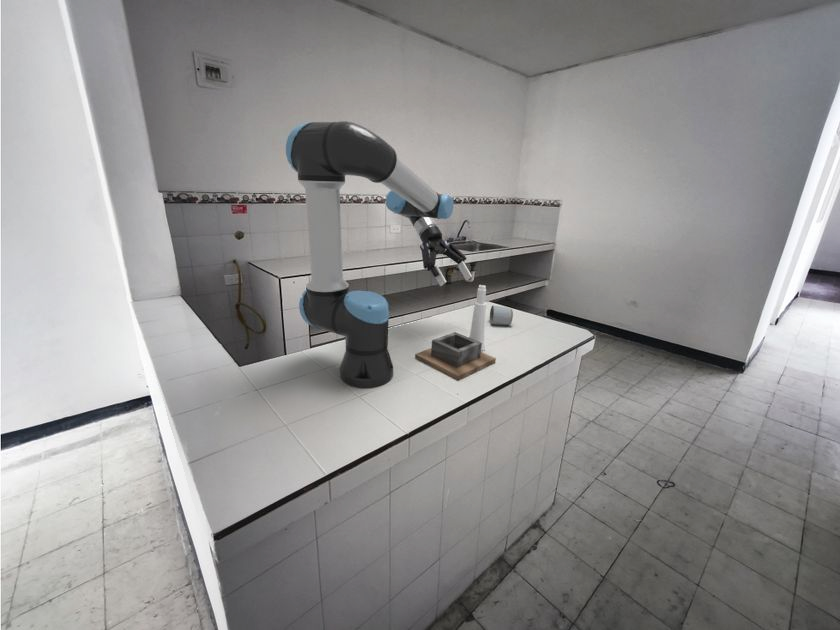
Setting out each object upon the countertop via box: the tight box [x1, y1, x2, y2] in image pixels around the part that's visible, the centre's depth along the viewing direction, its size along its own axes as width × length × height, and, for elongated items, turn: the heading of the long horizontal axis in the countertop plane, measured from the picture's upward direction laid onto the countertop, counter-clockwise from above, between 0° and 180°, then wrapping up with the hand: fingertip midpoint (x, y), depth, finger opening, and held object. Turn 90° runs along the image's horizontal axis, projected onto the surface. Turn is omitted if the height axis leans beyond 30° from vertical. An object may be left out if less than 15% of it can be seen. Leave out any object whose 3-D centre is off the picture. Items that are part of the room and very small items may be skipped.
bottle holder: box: [414, 332, 497, 381], centre depth 115 cm, size 18×18×6 cm
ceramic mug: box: [489, 304, 514, 326], centre depth 150 cm, size 11×8×8 cm
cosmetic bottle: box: [468, 284, 487, 352], centre depth 123 cm, size 6×6×22 cm
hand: (456, 281), depth 127 cm, fingers open, 13 cm apart
